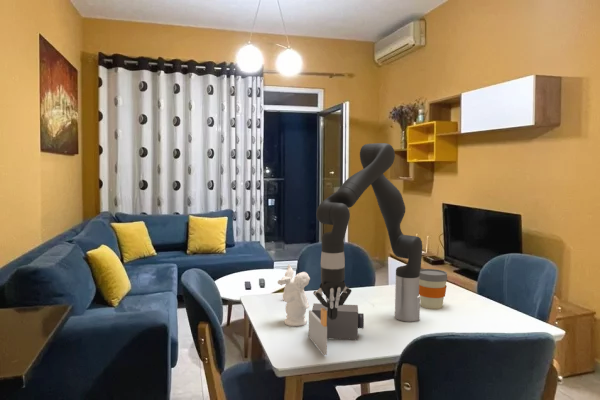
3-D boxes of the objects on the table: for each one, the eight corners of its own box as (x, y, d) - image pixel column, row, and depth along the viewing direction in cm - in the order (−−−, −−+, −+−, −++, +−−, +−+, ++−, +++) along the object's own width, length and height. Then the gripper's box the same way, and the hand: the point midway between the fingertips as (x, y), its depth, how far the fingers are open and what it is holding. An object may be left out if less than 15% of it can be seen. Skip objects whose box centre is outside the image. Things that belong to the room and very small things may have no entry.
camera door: (326, 354, 143) (327, 311, 142) (323, 355, 143) (324, 311, 142) (311, 335, 159) (311, 296, 158) (308, 335, 159) (308, 296, 158)
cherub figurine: (312, 325, 173) (314, 268, 171) (284, 331, 166) (285, 272, 164) (295, 316, 183) (296, 262, 181) (268, 321, 176) (269, 265, 174)
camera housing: (362, 332, 166) (363, 305, 165) (363, 340, 158) (364, 312, 157) (313, 330, 168) (313, 303, 167) (311, 338, 160) (312, 310, 159)
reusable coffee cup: (414, 308, 195) (415, 273, 194) (418, 300, 206) (419, 267, 205) (445, 311, 190) (446, 276, 189) (447, 303, 202) (448, 270, 201)
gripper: (318, 269, 138) (318, 325, 139) (356, 266, 143) (356, 320, 144) (308, 264, 145) (308, 317, 146) (345, 261, 150) (345, 312, 151)
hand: (332, 318), depth 145 cm, fingers closed
